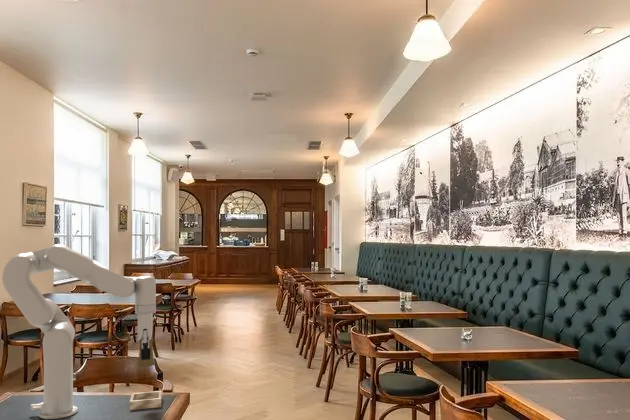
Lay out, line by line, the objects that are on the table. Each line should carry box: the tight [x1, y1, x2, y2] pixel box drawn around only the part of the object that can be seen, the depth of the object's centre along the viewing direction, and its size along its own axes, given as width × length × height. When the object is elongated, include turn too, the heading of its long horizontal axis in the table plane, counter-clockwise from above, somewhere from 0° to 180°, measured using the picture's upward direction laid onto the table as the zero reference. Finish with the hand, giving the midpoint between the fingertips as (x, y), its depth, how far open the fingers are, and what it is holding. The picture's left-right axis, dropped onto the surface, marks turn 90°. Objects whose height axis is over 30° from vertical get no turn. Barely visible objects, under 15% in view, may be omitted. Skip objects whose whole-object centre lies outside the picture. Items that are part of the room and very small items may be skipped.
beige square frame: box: [129, 390, 163, 411], centre depth 206 cm, size 11×11×3 cm
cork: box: [137, 336, 155, 368], centre depth 207 cm, size 6×6×11 cm
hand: (146, 357), depth 207 cm, fingers closed on cork, 4 cm apart
